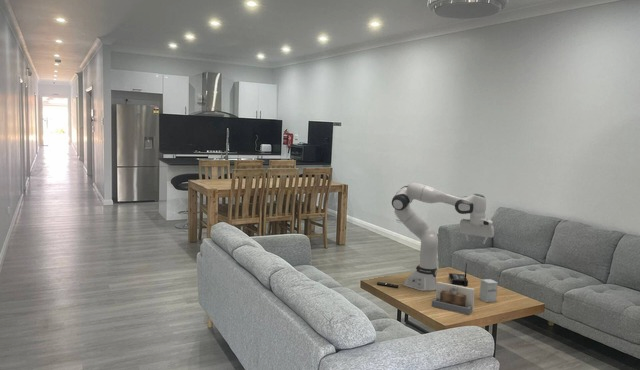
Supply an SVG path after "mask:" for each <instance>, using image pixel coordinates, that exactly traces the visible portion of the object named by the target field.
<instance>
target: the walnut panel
mask: <svg viewBox="0 0 640 370" xmlns="http://www.w3.org/2000/svg"><path fill="white" fill-rule="evenodd" d="M440 302H444V303H448V304H453V305H457V306H462V307H465V302H466V295H462V294H457V287H454V286H451V287H450V292H447V291H441V292H440Z"/></svg>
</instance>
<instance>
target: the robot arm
mask: <svg viewBox="0 0 640 370" xmlns="http://www.w3.org/2000/svg"><path fill="white" fill-rule="evenodd" d="M413 200H417V201H419V202H422V203H426V204H436V203H443V204H447V205H451V206H454V209H455V212H457V213H458V214H461V215H468V214H469V219H468V218H467V219H466V218H462V219H461V220H459V221H460V222H459V224H460V227H459V233H460V234H462V235H464V237H465V238H466V242H467V243H468V242H470V241H471V239H470V238H469V236H470V235H471V236H477V237H483V238H484V239H483V240H482V241H481V242H482V245H486V241H487V240H488V238H490V239H492V238H493V237H494V236H495V228H494V225H493V224H494V221H492V220H491V219H488V218H486V211H487V199H486V196H485V195H483V194H479V193H473V194H471V195H469V196H456V195H453V194H451V193H446V192H444V191H442V190H439V189H437V188H435V187H433V186H430V185H427V184H424V183H420V182H415V181H412V182H409V184H407V185H405V186H402V187H401V188H400V189H399V190H398V191H397V192H396V193H395V195H394V196H393V198H392V199H391V206H392V207H393V209H394V212H393V213H394V215H395V216H396V217H397V219H398V220H399V221H400V223H402V224H403V225H404V226H405V227H406V228H407V229H408V230H409V231H410V232H411V234H414V235H415V236H416V237H417V238H418V239H419V240H420V252H419V263H418V265H417V266H416V267H415V271H413V272H412V273H410V274H409V275H408V277H407V278H406V280H405V281H404V282H403V284H402V285H403V287H407V288H411V289H414V290H418V291H421V292H425V291H426V292H427V291H436V289H437V275H438V274H437V273H438V270H437V269H438V268H437V262H438V261H437V260H438V248H439V237H438V233H437V231H435V229H433V228H432V227H431V226H430V225H429V224H428V223H427V222H426V221H424V220H423V219H422V218H421V217H420V216H419V215H418V214H417V213H416V212H415V211H414V210H413V209H412V208H411V205H410V204H411V203H412V202H413Z"/></svg>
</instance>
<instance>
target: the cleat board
mask: <svg viewBox="0 0 640 370" xmlns="http://www.w3.org/2000/svg"><path fill="white" fill-rule="evenodd" d="M436 284H437V289H436V290H435V298H434V299H432V300H431V307H433V308H436V309H437V308H438V309H441V310H445V309H446V310H445V311H450V312H455V313H459V314H464V315H468V316H470V315H471V314H472V312H473V311H474V306H475V305H474V304H475V302H474V301H475V291H476V290H475V288H473V287H468V286H466V287H464V286H460V285H453V284H451V283H446V282H441V281H436ZM451 286H454V287H457V294H462V295H466V302H465V307H462V306H457V305H453V304H448V303H444V302H440V292H441V291H447V292H450V287H451Z"/></svg>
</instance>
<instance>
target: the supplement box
mask: <svg viewBox="0 0 640 370" xmlns="http://www.w3.org/2000/svg"><path fill="white" fill-rule="evenodd" d="M498 284H499V283H498V281H495V280H493V279H490V278H489V279H487V278H485V279H481V280H480V289H479V299H480V300H481V301H483V302H485V303H496V302H497V295H498Z"/></svg>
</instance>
